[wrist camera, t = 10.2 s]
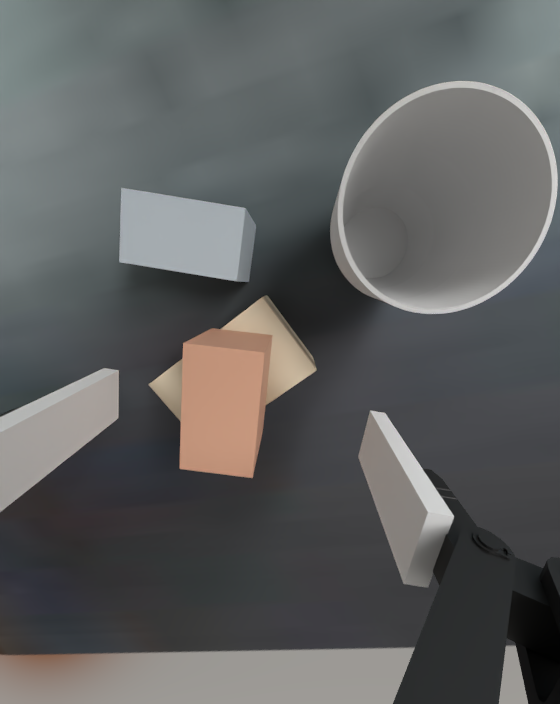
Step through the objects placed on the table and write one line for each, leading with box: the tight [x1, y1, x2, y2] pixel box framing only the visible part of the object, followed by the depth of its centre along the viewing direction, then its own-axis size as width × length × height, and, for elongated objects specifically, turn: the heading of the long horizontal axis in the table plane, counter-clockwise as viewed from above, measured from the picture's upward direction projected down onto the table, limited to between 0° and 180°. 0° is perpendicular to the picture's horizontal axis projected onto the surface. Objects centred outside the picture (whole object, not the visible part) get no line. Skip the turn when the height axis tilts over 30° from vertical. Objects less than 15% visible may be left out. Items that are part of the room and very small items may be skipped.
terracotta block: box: [180, 328, 273, 478], centre depth 17 cm, size 7×4×5 cm, turn 174°
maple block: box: [149, 295, 317, 421], centre depth 22 cm, size 10×6×4 cm, turn 127°
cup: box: [330, 81, 557, 314], centre depth 16 cm, size 8×8×10 cm
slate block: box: [119, 188, 256, 282], centre depth 19 cm, size 7×4×5 cm, turn 81°
